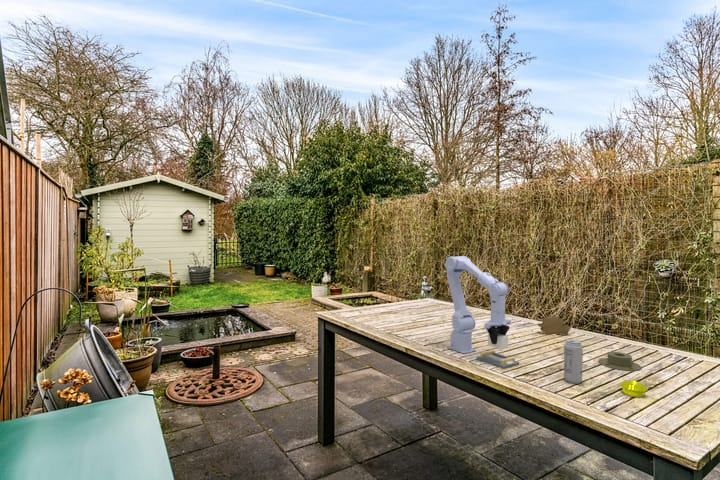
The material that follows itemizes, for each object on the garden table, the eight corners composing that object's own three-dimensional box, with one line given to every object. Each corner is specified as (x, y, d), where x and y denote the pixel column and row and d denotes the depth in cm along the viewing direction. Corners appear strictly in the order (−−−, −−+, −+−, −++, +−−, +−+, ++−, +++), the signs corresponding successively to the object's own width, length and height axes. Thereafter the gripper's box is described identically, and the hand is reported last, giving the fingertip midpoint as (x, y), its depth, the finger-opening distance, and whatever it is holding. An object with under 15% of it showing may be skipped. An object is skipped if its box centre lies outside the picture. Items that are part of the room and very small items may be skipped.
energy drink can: (584, 385, 141) (585, 343, 141) (566, 383, 142) (567, 342, 142) (578, 378, 147) (579, 339, 147) (561, 377, 148) (562, 338, 148)
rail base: (476, 359, 169) (476, 352, 169) (491, 355, 175) (491, 349, 175) (503, 368, 158) (503, 362, 158) (519, 364, 163) (519, 357, 163)
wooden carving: (568, 334, 213) (568, 316, 213) (571, 336, 208) (571, 317, 208) (536, 332, 216) (536, 314, 216) (538, 334, 211) (538, 316, 211)
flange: (620, 348, 172) (590, 350, 169) (651, 359, 157) (618, 361, 155) (620, 359, 172) (590, 361, 170) (650, 371, 157) (618, 373, 155)
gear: (653, 398, 130) (635, 389, 138) (653, 387, 130) (636, 378, 138) (630, 398, 130) (613, 389, 138) (630, 387, 130) (614, 378, 138)
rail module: (487, 345, 168) (488, 333, 168) (494, 343, 170) (494, 332, 170) (501, 349, 162) (501, 336, 162) (507, 347, 164) (507, 335, 164)
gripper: (494, 314, 159) (493, 348, 159) (516, 311, 166) (516, 342, 167) (480, 311, 164) (480, 343, 165) (502, 308, 172) (502, 338, 172)
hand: (497, 343), depth 166 cm, fingers closed on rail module, 4 cm apart
